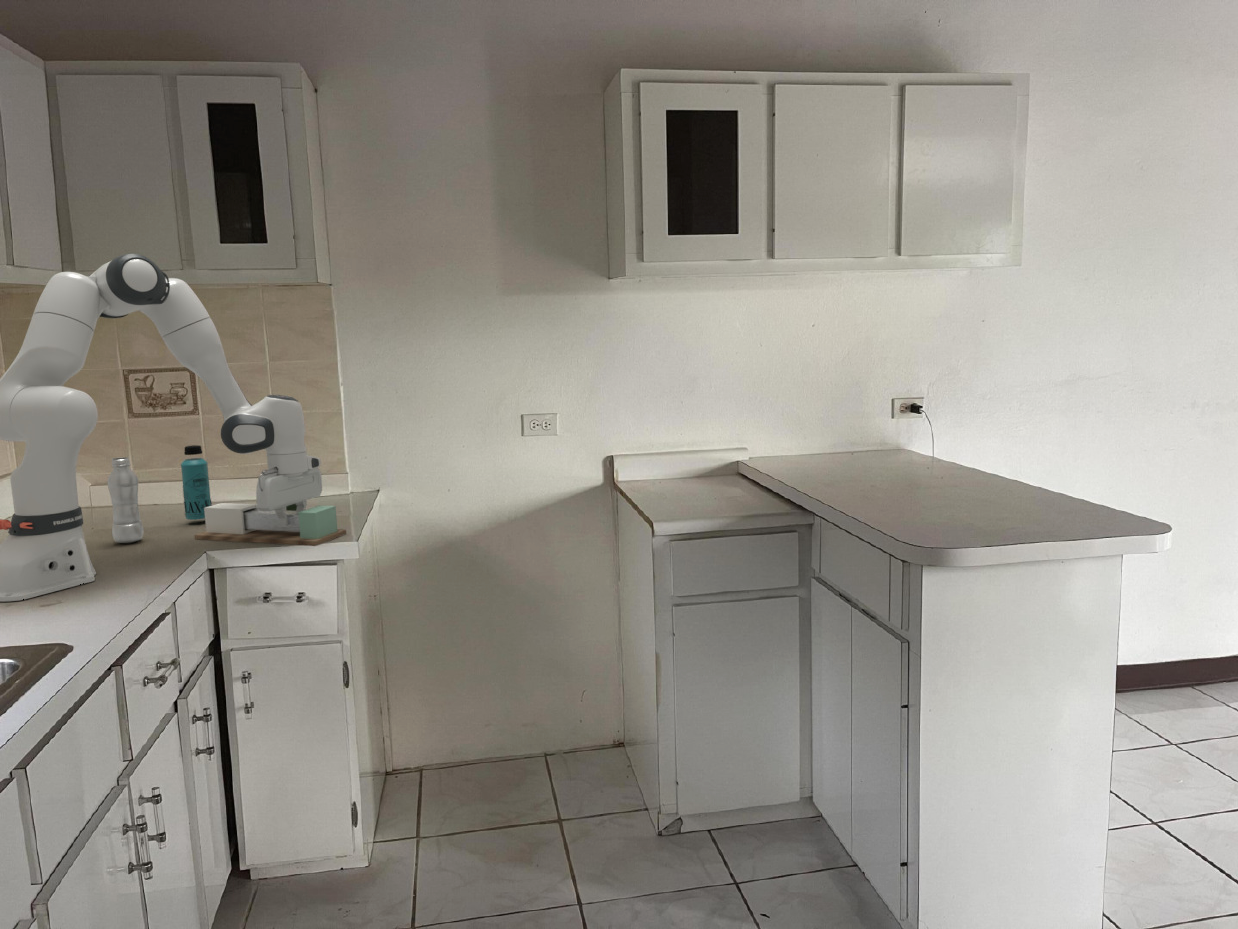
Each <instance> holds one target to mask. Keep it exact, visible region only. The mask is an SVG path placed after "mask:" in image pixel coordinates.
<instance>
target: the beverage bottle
mask: <svg viewBox="0 0 1238 929" xmlns="http://www.w3.org/2000/svg"><path fill="white" fill-rule="evenodd" d="M202 449H203V448H202V446H201V445H197V444H195V445H194V444H193V445H186V446H185V447H184V451H183V452H184V455H185V456H193V455H195V456H197V455H201V454H203V450H202ZM208 464H209V463H208V461H207V460H205V459H204V458H203V457H195V458H193V457H191V458H186V459H184V460H183V461H182V462H181V463H180V466H181V467H180V468H181V480H182V496H183V504H184V505H183V506H184V516H185V519H186V520H190V521H191V520H194V521H195V520H205V512H204V508H205V507H209V506H212V498H211V489H210V487H211V486H210V481H211V480H210V478H209V468H208Z"/></svg>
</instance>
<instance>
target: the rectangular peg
mask: <svg viewBox="0 0 1238 929" xmlns="http://www.w3.org/2000/svg"><path fill="white" fill-rule="evenodd" d="M298 512H301V511H285V513H286V515H287V517H290V524H289V525H286V526H281V525H280V520H279V517H278V516H277V514H276V512H275V510H273V511H260V510H259V509H249V510H246V511H243V516H244V527H245V529H252V530H273V531H293V532H300V527H299V515H298Z"/></svg>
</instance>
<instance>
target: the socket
mask: <svg viewBox="0 0 1238 929" xmlns="http://www.w3.org/2000/svg"><path fill="white" fill-rule="evenodd" d="M336 509H337V506H335V505H316V506H314V507H310V508H307V509H305V510H304V511H301V512H298V515H299V527H300V538H305V539H319V538H321V537H324V536H327V535H329V534H332V533H334V532H337V529H338V520H337V510H336Z"/></svg>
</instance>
